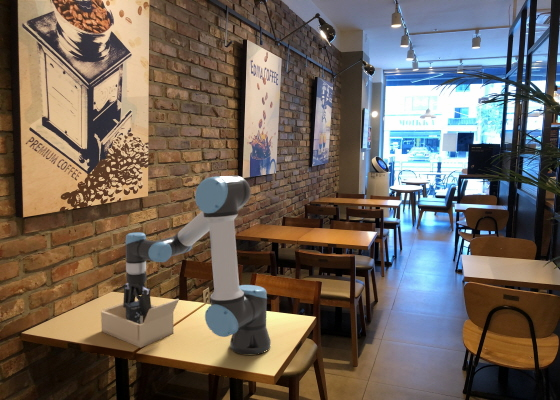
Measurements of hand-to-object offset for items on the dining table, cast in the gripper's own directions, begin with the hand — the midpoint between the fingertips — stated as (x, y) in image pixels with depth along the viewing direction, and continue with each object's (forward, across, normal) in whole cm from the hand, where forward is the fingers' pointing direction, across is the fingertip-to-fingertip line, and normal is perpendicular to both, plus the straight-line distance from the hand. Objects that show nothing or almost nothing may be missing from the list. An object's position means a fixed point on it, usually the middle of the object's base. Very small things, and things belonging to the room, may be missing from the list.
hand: (137, 327), depth 177 cm
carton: (+2, 0, 0) cm, 2 cm away
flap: (-7, -12, 0) cm, 14 cm away
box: (+1, 0, 0) cm, 1 cm away
